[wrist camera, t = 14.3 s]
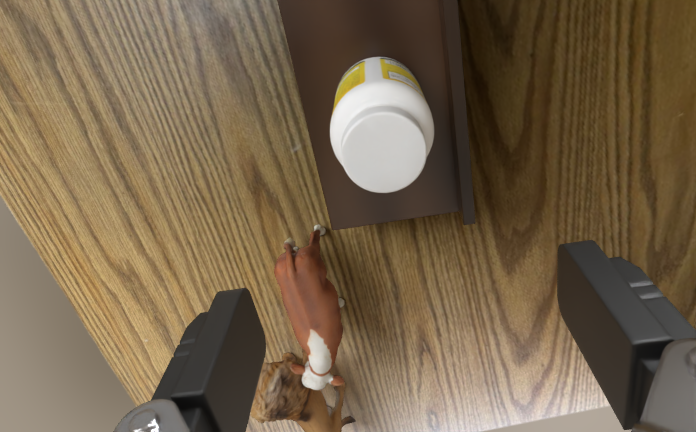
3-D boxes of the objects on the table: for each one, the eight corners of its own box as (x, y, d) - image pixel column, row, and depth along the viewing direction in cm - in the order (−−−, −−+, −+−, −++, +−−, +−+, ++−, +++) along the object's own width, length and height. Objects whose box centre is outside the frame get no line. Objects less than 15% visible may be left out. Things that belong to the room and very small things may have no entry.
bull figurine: (306, 338, 46) (295, 407, 39) (279, 214, 40) (260, 270, 33) (352, 334, 46) (349, 404, 39) (332, 209, 40) (324, 264, 32)
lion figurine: (245, 336, 46) (220, 414, 38) (289, 312, 45) (272, 388, 37) (335, 424, 52) (329, 509, 44) (377, 405, 50) (378, 489, 42)
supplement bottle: (341, 144, 32) (332, 211, 24) (330, 60, 30) (315, 101, 21) (423, 135, 32) (444, 201, 23) (418, 50, 29) (440, 87, 21)
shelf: (335, 203, 39) (330, 245, 34) (279, -43, 31) (260, -43, 26) (459, 184, 38) (475, 223, 32) (434, -77, 30) (450, -86, 24)
